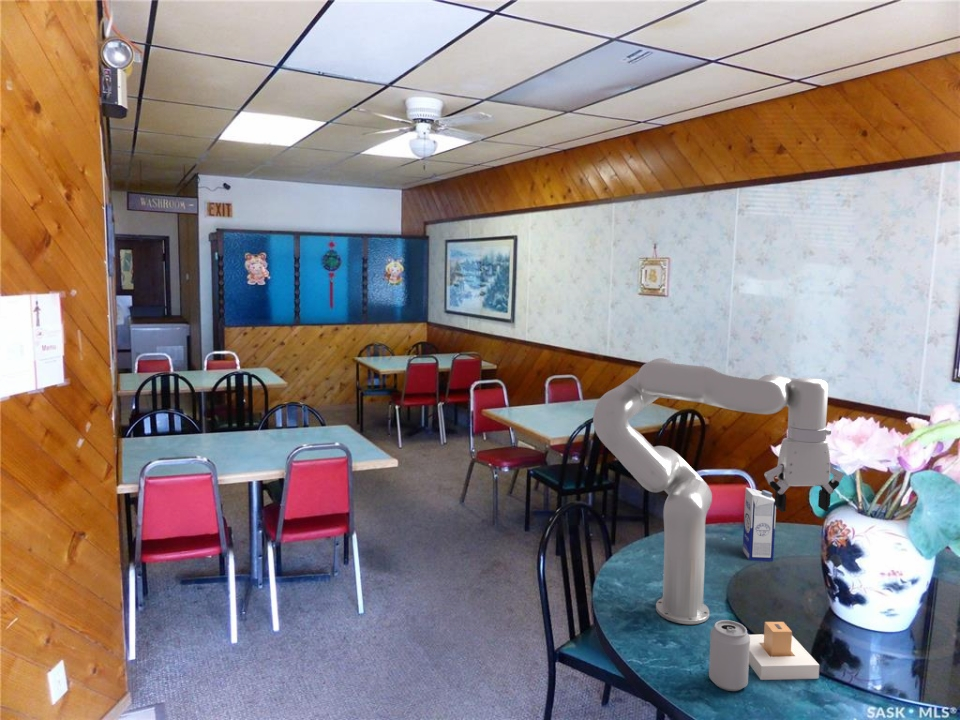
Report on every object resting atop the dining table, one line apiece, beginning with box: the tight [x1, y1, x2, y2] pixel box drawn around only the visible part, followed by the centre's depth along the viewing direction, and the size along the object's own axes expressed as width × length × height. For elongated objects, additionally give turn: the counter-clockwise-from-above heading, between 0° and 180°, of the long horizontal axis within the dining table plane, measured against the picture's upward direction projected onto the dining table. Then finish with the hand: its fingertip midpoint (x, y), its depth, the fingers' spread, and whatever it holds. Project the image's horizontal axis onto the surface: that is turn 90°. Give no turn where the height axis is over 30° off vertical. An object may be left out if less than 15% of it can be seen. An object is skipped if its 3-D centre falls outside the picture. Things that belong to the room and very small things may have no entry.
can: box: [708, 619, 750, 692], centre depth 135 cm, size 8×8×12 cm
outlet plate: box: [749, 633, 820, 681], centre depth 143 cm, size 12×12×3 cm
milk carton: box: [742, 487, 777, 562], centre depth 196 cm, size 7×7×20 cm
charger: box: [763, 621, 793, 657], centre depth 142 cm, size 4×4×8 cm
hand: (801, 509), depth 149 cm, fingers open, 9 cm apart
